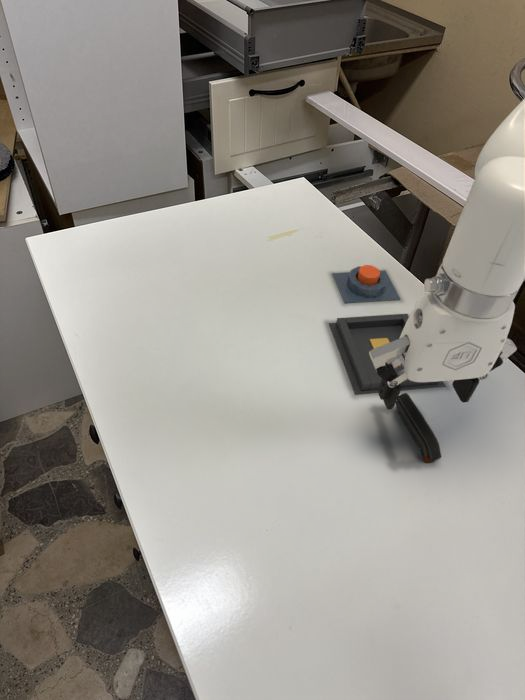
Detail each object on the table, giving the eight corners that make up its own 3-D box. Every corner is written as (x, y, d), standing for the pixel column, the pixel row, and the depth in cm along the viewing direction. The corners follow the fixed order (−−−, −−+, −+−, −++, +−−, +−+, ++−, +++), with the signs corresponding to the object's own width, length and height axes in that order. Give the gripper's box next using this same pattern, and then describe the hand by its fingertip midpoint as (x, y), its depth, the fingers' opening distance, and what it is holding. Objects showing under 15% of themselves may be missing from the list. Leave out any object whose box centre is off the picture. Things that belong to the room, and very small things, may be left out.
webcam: (437, 467, 68) (452, 442, 64) (392, 469, 67) (403, 444, 63) (416, 411, 74) (428, 385, 70) (374, 412, 74) (383, 386, 70)
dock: (408, 321, 88) (412, 310, 86) (444, 390, 77) (449, 379, 76) (327, 327, 85) (329, 316, 83) (353, 399, 75) (357, 388, 73)
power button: (374, 272, 92) (376, 264, 91) (380, 285, 90) (383, 277, 88) (354, 273, 92) (356, 265, 90) (360, 286, 89) (362, 278, 88)
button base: (383, 275, 96) (387, 262, 94) (398, 304, 91) (403, 290, 88) (331, 278, 94) (334, 264, 92) (343, 307, 89) (346, 294, 87)
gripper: (406, 317, 48) (365, 428, 60) (572, 307, 51) (501, 415, 63) (379, 267, 53) (346, 379, 65) (532, 261, 56) (473, 369, 68)
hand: (422, 396), depth 64 cm, fingers open, 9 cm apart
